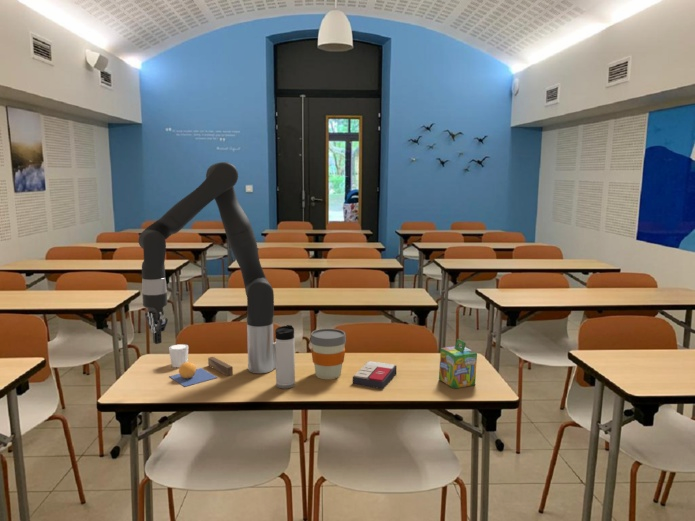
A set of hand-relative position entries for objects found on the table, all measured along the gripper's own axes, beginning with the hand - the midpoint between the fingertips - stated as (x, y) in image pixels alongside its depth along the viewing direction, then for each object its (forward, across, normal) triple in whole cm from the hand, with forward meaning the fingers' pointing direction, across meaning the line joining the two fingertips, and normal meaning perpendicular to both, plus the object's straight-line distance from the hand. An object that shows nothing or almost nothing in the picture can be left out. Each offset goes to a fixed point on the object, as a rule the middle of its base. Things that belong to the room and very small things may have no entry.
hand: (157, 342), depth 177 cm
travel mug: (+15, -27, -32) cm, 45 cm away
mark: (+15, 0, -12) cm, 19 cm away
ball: (+12, +1, -10) cm, 16 cm away
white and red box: (+16, -43, -58) cm, 74 cm away
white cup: (+15, +15, -14) cm, 26 cm away
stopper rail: (+15, 0, -22) cm, 27 cm away
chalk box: (+15, -64, -77) cm, 101 cm away
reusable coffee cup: (+15, -29, -49) cm, 59 cm away
